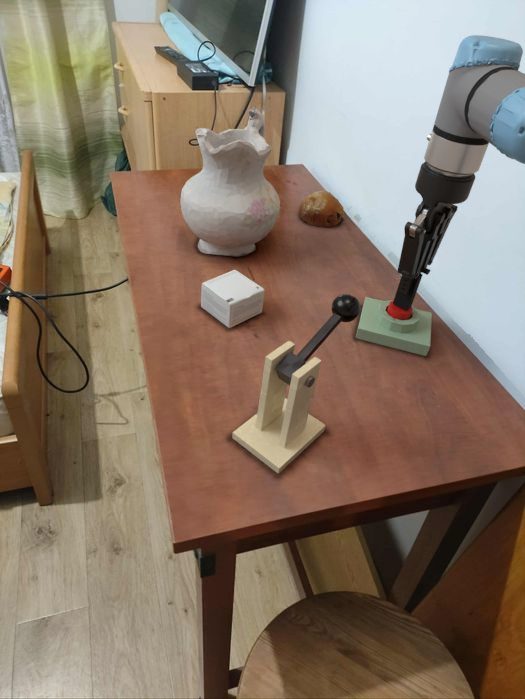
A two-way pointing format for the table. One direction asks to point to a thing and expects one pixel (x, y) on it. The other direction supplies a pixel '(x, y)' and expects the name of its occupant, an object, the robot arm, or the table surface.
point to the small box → (232, 298)
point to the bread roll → (321, 209)
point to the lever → (320, 335)
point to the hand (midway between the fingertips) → (401, 305)
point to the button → (398, 312)
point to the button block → (395, 328)
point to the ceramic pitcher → (231, 190)
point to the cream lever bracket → (282, 413)
